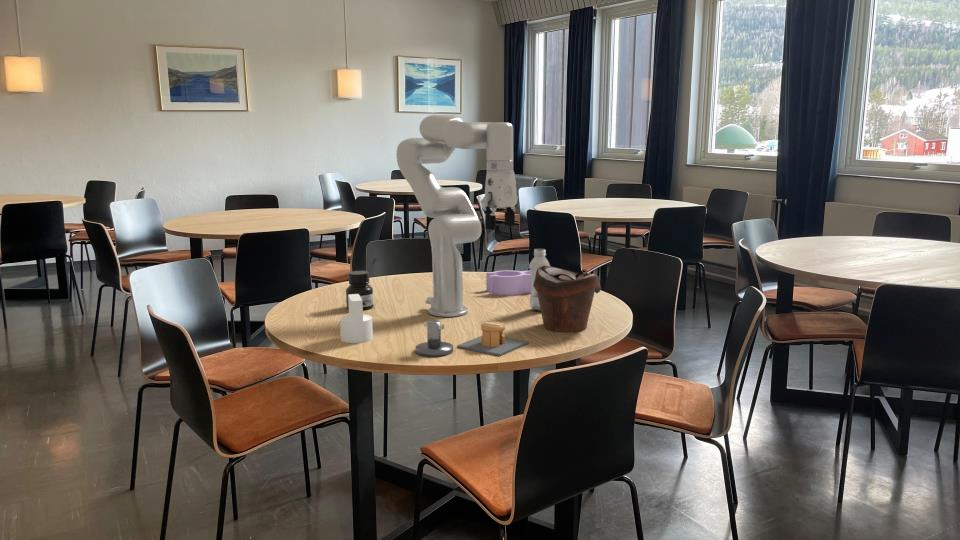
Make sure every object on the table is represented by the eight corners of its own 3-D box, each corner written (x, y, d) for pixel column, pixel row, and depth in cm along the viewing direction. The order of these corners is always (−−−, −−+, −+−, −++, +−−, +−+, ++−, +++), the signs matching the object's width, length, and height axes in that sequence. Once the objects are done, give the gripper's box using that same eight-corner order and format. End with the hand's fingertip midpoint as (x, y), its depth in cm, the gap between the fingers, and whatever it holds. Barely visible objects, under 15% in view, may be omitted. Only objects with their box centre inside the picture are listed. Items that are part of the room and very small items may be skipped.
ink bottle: (353, 312, 230) (352, 276, 228) (340, 307, 237) (339, 272, 235) (379, 307, 237) (378, 272, 234) (366, 303, 243) (364, 269, 241)
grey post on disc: (407, 352, 187) (406, 323, 185) (432, 343, 195) (431, 315, 193) (437, 359, 181) (436, 329, 179) (460, 349, 189) (460, 320, 187)
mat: (457, 347, 191) (457, 345, 191) (487, 335, 202) (487, 333, 202) (500, 356, 183) (500, 354, 183) (528, 343, 194) (528, 341, 194)
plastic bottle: (549, 312, 227) (549, 251, 223) (528, 312, 228) (528, 251, 225) (551, 308, 233) (551, 248, 229) (530, 307, 235) (530, 247, 231)
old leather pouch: (607, 333, 202) (607, 271, 199) (538, 336, 201) (537, 274, 198) (592, 318, 220) (593, 261, 217) (528, 321, 218) (528, 264, 215)
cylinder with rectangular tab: (375, 341, 197) (373, 299, 195) (342, 344, 195) (340, 302, 193) (370, 333, 206) (369, 293, 204) (339, 335, 203) (337, 295, 201)
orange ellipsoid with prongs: (476, 344, 191) (476, 324, 190) (490, 338, 197) (489, 319, 196) (495, 348, 188) (495, 328, 187) (509, 342, 193) (509, 322, 192)
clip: (537, 287, 267) (537, 269, 266) (545, 294, 255) (545, 275, 254) (485, 289, 264) (485, 271, 263) (490, 296, 252) (490, 277, 251)
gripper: (493, 168, 190) (493, 231, 193) (527, 166, 203) (527, 225, 207) (470, 168, 194) (471, 230, 197) (505, 165, 208) (506, 223, 211)
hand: (500, 227), depth 202 cm, fingers open, 9 cm apart
